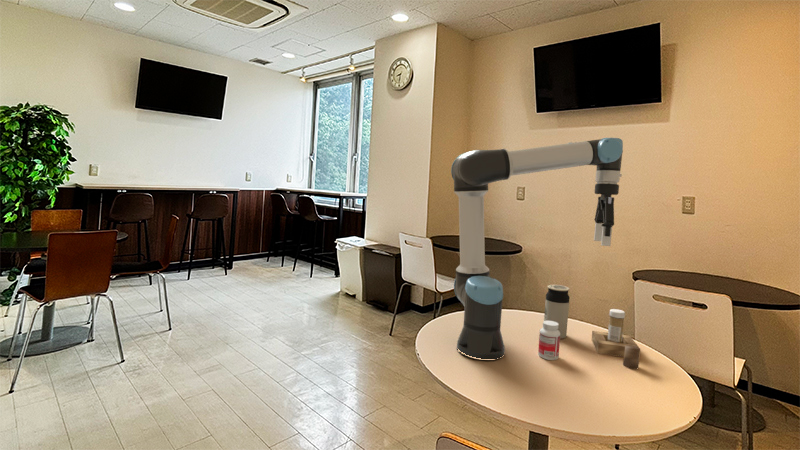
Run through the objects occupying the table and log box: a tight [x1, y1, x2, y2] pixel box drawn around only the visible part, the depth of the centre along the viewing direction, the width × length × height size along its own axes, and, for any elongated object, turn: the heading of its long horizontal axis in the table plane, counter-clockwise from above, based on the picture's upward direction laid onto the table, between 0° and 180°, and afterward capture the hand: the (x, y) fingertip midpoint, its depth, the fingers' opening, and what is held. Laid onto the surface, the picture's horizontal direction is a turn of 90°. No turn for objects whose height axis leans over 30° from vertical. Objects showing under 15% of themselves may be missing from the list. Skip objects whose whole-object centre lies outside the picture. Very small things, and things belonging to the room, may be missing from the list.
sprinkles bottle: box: [607, 308, 626, 343], centre depth 135 cm, size 5×5×13 cm
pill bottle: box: [537, 320, 561, 361], centre depth 127 cm, size 6×6×11 cm
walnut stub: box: [622, 345, 641, 370], centre depth 123 cm, size 4×4×6 cm
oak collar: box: [591, 330, 639, 358], centre depth 136 cm, size 12×12×4 cm
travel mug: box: [543, 284, 571, 340], centre depth 146 cm, size 8×8×18 cm
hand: (601, 243), depth 142 cm, fingers open, 13 cm apart
